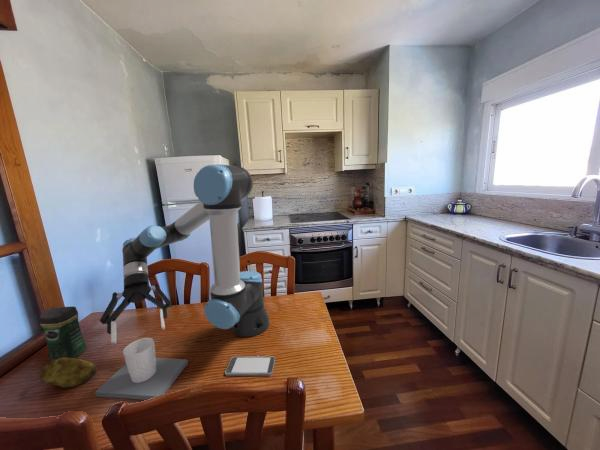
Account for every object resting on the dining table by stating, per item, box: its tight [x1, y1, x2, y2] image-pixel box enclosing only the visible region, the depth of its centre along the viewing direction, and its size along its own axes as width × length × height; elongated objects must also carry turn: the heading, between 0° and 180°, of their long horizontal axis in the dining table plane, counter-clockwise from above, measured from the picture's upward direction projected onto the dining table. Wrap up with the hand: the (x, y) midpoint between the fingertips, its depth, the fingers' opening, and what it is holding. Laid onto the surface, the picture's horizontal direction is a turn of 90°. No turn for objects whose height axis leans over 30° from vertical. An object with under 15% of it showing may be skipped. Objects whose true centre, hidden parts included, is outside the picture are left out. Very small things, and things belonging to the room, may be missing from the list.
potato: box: [40, 357, 97, 388], centre depth 75 cm, size 8×13×8 cm, turn 82°
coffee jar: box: [38, 306, 87, 362], centre depth 86 cm, size 10×8×19 cm
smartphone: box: [224, 356, 276, 377], centre depth 78 cm, size 7×1×15 cm
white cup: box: [122, 337, 157, 383], centre depth 74 cm, size 8×8×10 cm
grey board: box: [94, 357, 189, 401], centre depth 75 cm, size 20×14×2 cm
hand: (139, 335), depth 78 cm, fingers open, 13 cm apart
